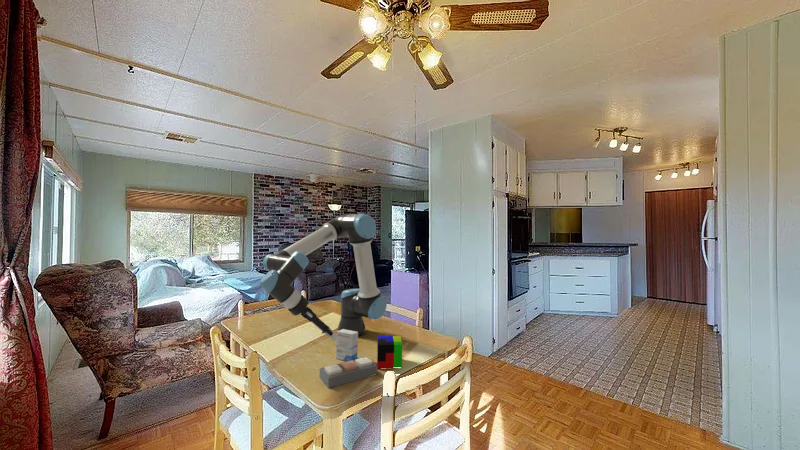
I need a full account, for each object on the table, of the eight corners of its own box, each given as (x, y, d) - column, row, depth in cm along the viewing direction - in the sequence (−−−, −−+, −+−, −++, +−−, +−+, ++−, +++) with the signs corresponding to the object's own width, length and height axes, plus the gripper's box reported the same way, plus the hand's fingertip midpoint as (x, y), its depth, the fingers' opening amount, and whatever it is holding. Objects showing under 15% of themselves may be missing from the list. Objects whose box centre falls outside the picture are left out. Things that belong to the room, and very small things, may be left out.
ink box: (358, 358, 138) (358, 331, 138) (351, 362, 133) (352, 334, 133) (341, 354, 141) (342, 328, 141) (335, 358, 137) (335, 331, 137)
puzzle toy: (377, 358, 137) (377, 336, 137) (399, 358, 138) (400, 336, 138) (377, 369, 127) (377, 344, 127) (401, 369, 128) (402, 344, 128)
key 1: (336, 370, 121) (336, 364, 121) (342, 375, 117) (342, 369, 117) (324, 373, 118) (324, 367, 118) (329, 379, 114) (329, 372, 114)
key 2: (366, 363, 128) (366, 356, 128) (372, 367, 124) (372, 361, 124) (355, 365, 126) (355, 359, 126) (360, 370, 122) (361, 364, 122)
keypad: (366, 365, 131) (366, 357, 131) (377, 374, 123) (377, 365, 123) (319, 377, 120) (319, 368, 120) (328, 388, 112) (328, 378, 112)
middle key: (351, 366, 125) (352, 360, 125) (357, 371, 121) (357, 365, 121) (340, 369, 122) (340, 363, 122) (345, 375, 118) (345, 368, 118)
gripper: (279, 302, 133) (313, 332, 141) (296, 318, 112) (335, 351, 121) (293, 288, 136) (325, 318, 144) (311, 301, 115) (348, 335, 124)
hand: (330, 333), depth 132 cm, fingers open, 13 cm apart
